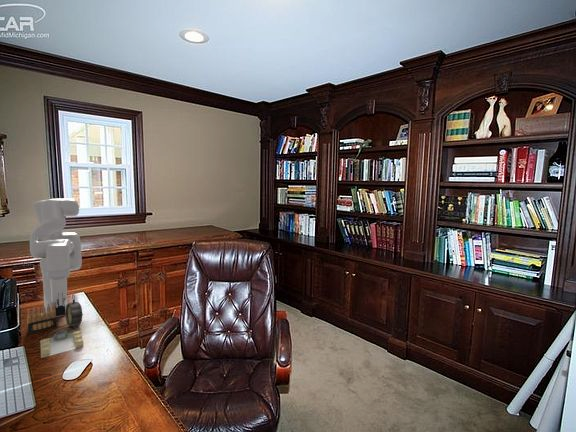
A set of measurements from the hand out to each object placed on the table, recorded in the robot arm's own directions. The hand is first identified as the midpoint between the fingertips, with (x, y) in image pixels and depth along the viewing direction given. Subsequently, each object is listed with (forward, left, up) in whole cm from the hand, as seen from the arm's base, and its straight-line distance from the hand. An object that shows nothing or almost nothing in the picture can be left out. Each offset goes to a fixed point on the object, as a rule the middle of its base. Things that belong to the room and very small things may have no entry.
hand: (60, 314), depth 125 cm
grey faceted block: (-7, 0, -13) cm, 15 cm away
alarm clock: (-17, +6, -14) cm, 23 cm away
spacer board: (-2, 0, -14) cm, 14 cm away
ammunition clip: (-22, -6, -14) cm, 27 cm away
